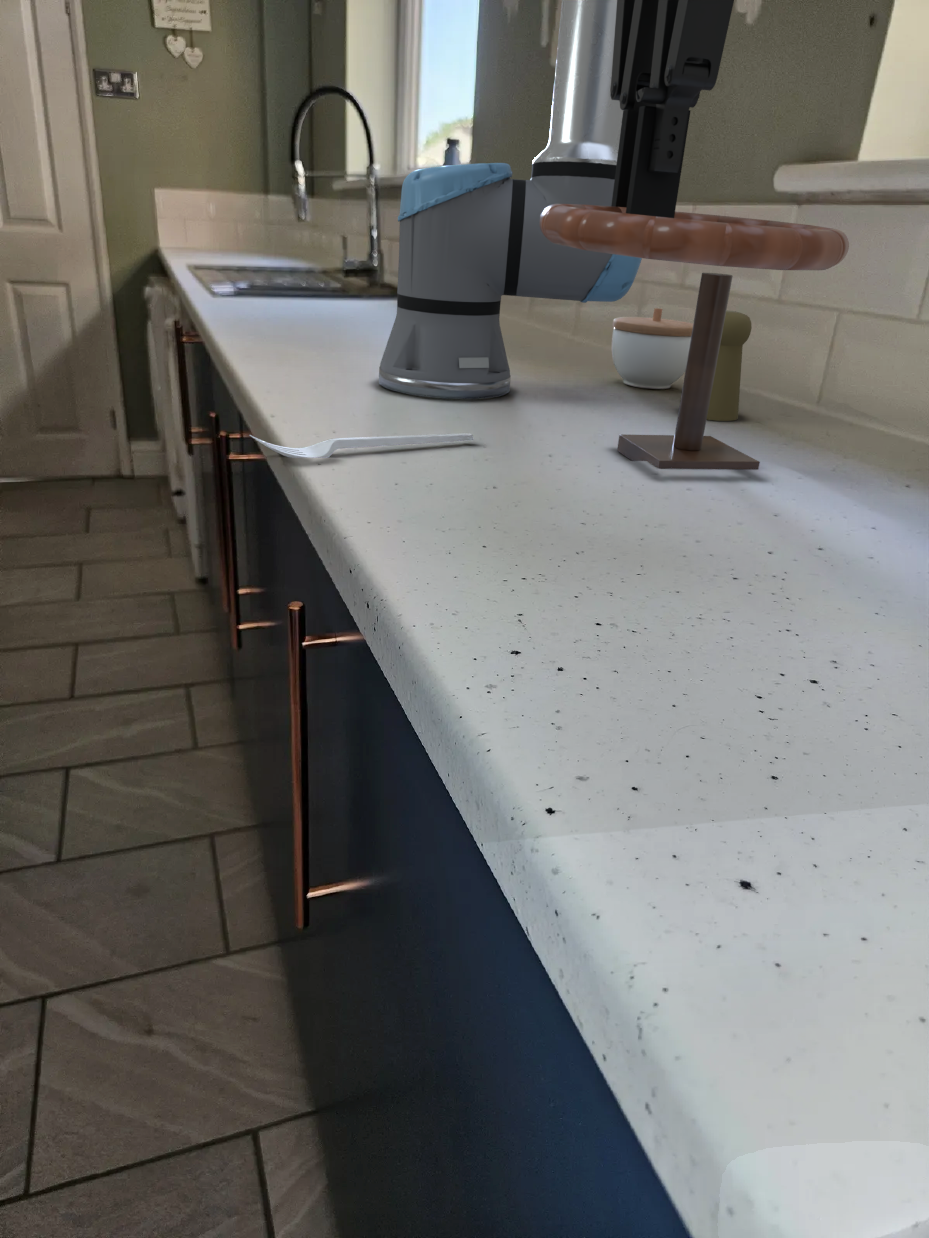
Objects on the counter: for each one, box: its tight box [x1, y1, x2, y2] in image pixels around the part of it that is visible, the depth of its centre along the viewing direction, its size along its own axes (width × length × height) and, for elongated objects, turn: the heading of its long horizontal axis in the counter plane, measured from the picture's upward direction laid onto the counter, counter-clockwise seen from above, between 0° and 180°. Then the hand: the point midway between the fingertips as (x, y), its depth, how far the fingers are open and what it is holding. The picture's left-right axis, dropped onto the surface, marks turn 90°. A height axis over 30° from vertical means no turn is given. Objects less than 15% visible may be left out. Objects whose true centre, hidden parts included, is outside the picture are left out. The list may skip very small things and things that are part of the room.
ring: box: [540, 204, 850, 271], centre depth 46 cm, size 16×16×2 cm
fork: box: [249, 432, 475, 459], centre depth 72 cm, size 3×20×2 cm, turn 122°
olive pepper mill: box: [706, 309, 753, 422], centre depth 95 cm, size 6×6×11 cm
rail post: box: [616, 272, 761, 470], centre depth 73 cm, size 9×9×16 cm
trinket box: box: [611, 307, 694, 390], centre depth 111 cm, size 11×11×9 cm
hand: (638, 235), depth 52 cm, fingers closed on ring, 2 cm apart
